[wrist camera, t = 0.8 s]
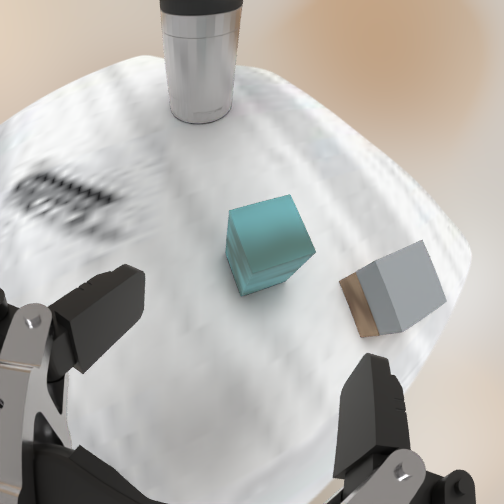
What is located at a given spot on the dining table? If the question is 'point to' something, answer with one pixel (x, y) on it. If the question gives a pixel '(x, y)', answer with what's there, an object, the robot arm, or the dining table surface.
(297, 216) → the teal pillar
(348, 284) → the walnut slab
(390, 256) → the grey slab
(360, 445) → the robot arm
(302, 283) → the dining table surface
